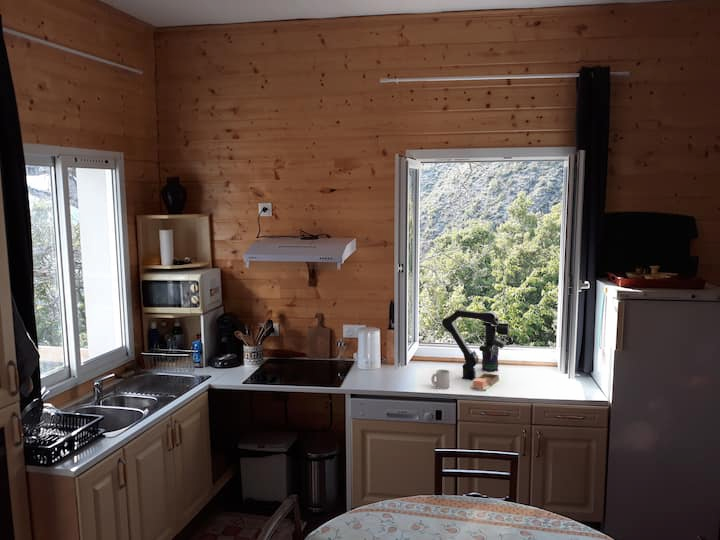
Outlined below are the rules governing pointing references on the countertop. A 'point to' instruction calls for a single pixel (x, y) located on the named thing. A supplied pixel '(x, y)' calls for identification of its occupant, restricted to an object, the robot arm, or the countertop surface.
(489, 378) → the wooden tray
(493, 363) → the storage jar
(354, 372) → the countertop surface
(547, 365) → the countertop surface
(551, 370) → the countertop surface
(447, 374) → the cup
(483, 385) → the block
